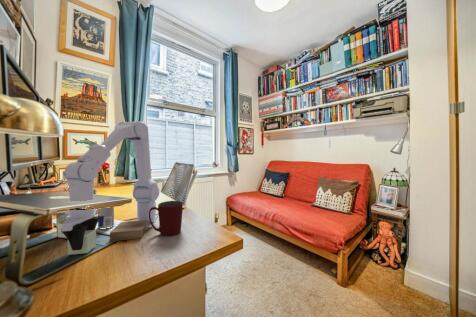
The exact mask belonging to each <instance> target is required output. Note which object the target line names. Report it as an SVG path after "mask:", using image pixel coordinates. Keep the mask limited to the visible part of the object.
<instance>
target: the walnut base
mask: <svg viewBox="0 0 476 317" xmlns="http://www.w3.org/2000/svg"><path fill="white" fill-rule="evenodd" d="M149 224H150V223H149V220H146V221H136V220H133V221H121V222H120V223H118V224H117V226H115V227H114V228H113V229H112V230H111V231H110V232H109V241H110V242H115V241H117V242H118V241H126V240H127V241H128V240H140V239H143V237H144V235H145V234H146V232H147V230H148V229H149Z"/></svg>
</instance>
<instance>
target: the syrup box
mask: <svg viewBox="0 0 476 317" xmlns="http://www.w3.org/2000/svg"><path fill="white" fill-rule="evenodd" d="M69 215H70V211H69V212H63V213H59V214H56V213H55V216H56V217H55V218H56V220H55V221H56V238H57V237H58V238H59V239H67V237H66V236H65V235H64V234H63V233H62V232H61V229H62V224H64V223H65V222H66V221H67V219H65V217H67V216H69Z"/></svg>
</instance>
